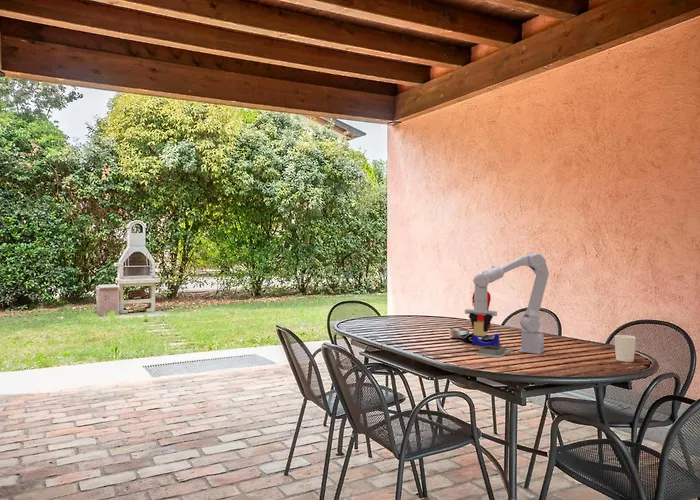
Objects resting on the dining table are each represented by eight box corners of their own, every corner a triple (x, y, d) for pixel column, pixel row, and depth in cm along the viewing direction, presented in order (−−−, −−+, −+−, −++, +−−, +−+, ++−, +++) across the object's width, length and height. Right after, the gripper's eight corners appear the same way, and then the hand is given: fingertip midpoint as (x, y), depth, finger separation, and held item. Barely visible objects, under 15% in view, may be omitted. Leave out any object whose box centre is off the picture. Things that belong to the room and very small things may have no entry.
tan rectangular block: (487, 334, 254) (487, 321, 254) (483, 336, 250) (483, 322, 250) (477, 333, 256) (477, 320, 256) (473, 335, 253) (473, 321, 252)
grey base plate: (512, 351, 252) (513, 345, 252) (499, 357, 237) (499, 351, 237) (491, 348, 258) (491, 342, 258) (476, 355, 243) (476, 348, 243)
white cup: (624, 362, 230) (624, 338, 230) (610, 358, 238) (610, 335, 238) (639, 361, 232) (640, 337, 232) (625, 358, 240) (625, 334, 240)
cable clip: (499, 346, 266) (499, 333, 266) (497, 347, 262) (497, 334, 262) (474, 344, 272) (474, 331, 272) (472, 345, 268) (472, 332, 268)
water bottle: (477, 326, 331) (477, 283, 331) (492, 328, 323) (493, 284, 323) (467, 327, 325) (467, 284, 325) (482, 329, 317) (483, 285, 317)
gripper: (462, 300, 254) (461, 330, 254) (493, 302, 246) (492, 333, 246) (468, 299, 260) (468, 328, 260) (498, 301, 251) (498, 331, 251)
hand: (480, 330), depth 253 cm, fingers closed on tan rectangular block, 4 cm apart
